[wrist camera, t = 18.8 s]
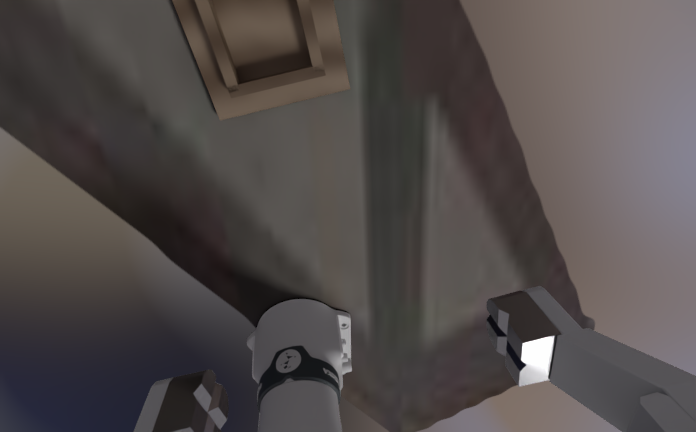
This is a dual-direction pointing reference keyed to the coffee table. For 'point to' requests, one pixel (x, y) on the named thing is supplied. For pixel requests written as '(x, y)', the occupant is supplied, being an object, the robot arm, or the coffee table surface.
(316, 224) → the coffee table surface
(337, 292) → the coffee table surface
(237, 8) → the cradle board
